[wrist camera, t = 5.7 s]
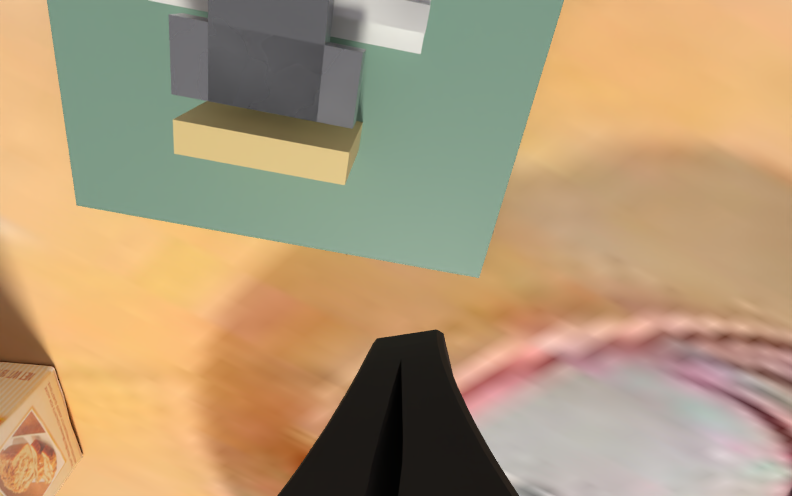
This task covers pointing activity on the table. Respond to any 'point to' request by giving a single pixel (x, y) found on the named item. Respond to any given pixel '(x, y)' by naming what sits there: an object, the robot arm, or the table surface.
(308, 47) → the grey flat bar
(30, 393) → the coffeecake box
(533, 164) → the table surface
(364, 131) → the board
